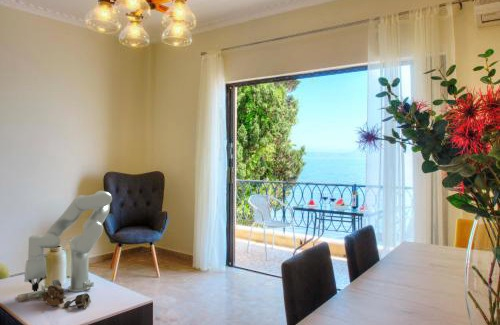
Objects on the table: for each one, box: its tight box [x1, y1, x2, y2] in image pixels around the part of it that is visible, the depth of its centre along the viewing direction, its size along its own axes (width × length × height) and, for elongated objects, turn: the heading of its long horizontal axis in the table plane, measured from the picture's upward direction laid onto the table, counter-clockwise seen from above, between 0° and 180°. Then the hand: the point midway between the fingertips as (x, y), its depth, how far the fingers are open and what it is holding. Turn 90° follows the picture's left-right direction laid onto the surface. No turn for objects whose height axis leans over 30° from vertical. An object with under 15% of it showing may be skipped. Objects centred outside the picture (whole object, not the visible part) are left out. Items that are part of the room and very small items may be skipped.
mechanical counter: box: [63, 292, 92, 310], centre depth 184 cm, size 7×13×10 cm
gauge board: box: [17, 279, 62, 303], centre depth 199 cm, size 20×10×6 cm, turn 127°
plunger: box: [40, 283, 46, 293], centre depth 198 cm, size 1×8×4 cm, turn 37°
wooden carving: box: [41, 284, 67, 307], centre depth 186 cm, size 16×5×10 cm, turn 70°
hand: (35, 290), depth 197 cm, fingers closed
